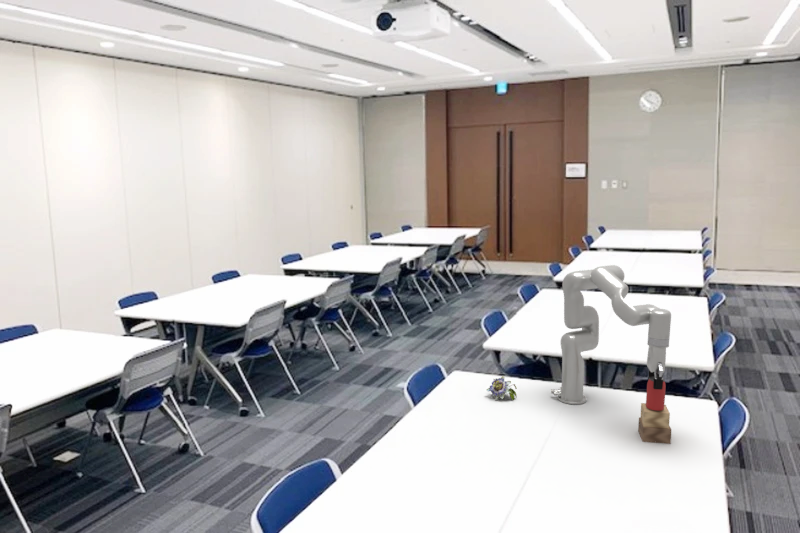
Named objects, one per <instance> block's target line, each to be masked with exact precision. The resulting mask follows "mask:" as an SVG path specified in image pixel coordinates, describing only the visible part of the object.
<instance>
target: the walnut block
mask: <svg viewBox="0 0 800 533" xmlns="http://www.w3.org/2000/svg"><path fill="white" fill-rule="evenodd" d="M640 417H641V416H640ZM640 417H639V416H638V424H637V425H638V428H637V432H638V434H639V436H640V438H641V441H642V442H643V443H656V444H665V445H666V444H668V445H669V444H671V443H672V442H671V440H672V427H671V426H670V425H669V429H668V428H655V427H644V426H643V423H642V420H641V418H640Z"/></svg>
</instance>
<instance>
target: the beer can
mask: <svg viewBox="0 0 800 533" xmlns="http://www.w3.org/2000/svg"><path fill="white" fill-rule="evenodd" d="M654 378H655V376H653V377H649V379H648V381H647V383H646V396H645V397H646V398H645V403H646V407H647V408H648V409H649V410H652V411H662V410H663V409H664V405H665V402H666V401H665V400H666V382H665V381H666V380H665V378H663V388H662V390H660V389H654V388H653V384H654Z"/></svg>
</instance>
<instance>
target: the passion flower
mask: <svg viewBox="0 0 800 533" xmlns="http://www.w3.org/2000/svg"><path fill="white" fill-rule="evenodd" d="M510 384H511V385H510ZM511 386H514V388H515V390H517V386H516V384H515V383H514V384H512V381H511V380H507V381H505V376H504V375H502V376H501V377H499V378H493V381H492V382H491V385H489V387H488V388H487V389H486V391H487V392H491V393H492V394H491V397H492V398H494V400H495V401H498V400H499V398H500V399H502V400H504V398H505V395H506V394H509V396H510V398H511V400H512V401H515V397H517V393H516V392H517V391H515V390H514V389H513V388H512V387H511Z"/></svg>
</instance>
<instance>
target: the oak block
mask: <svg viewBox="0 0 800 533" xmlns="http://www.w3.org/2000/svg"><path fill="white" fill-rule="evenodd" d="M670 416H671V414H670V411H669V408H668V407H667V405H666V404H664V409H663V410H662V411H652V410H649V409H648V408H647V407H646V402H645V403H643V402H641V403H640V418H641V420H642V423H643V426H644V427H655V428H668V429H669V426H670V418H671V417H670Z"/></svg>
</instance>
